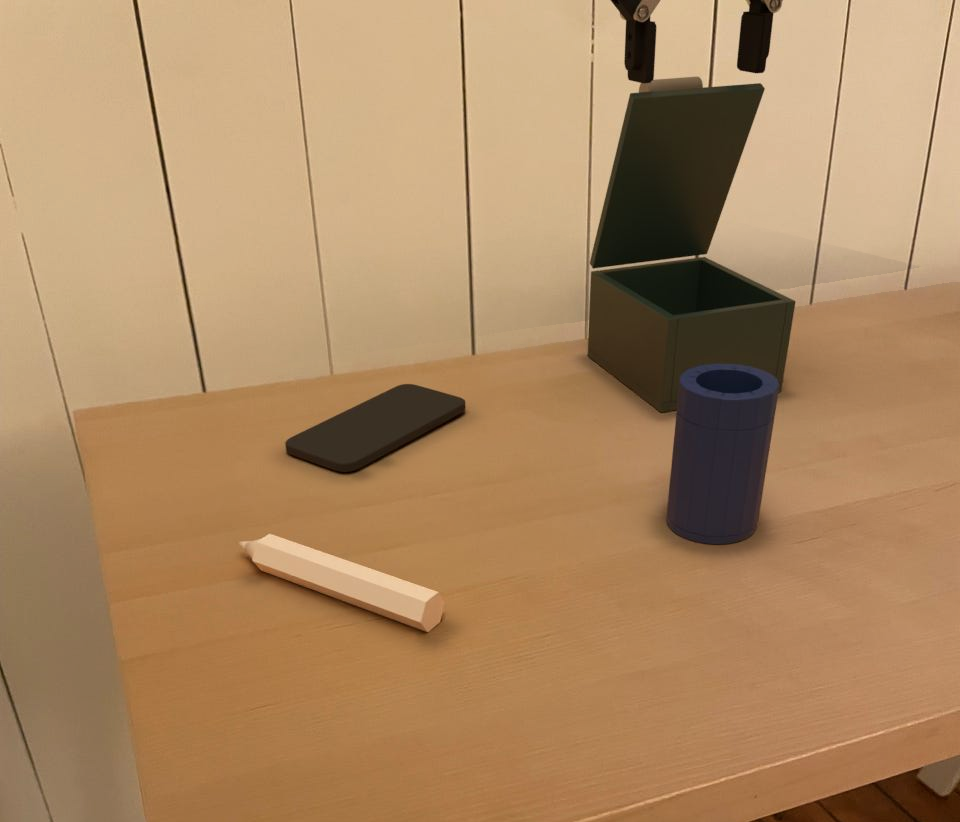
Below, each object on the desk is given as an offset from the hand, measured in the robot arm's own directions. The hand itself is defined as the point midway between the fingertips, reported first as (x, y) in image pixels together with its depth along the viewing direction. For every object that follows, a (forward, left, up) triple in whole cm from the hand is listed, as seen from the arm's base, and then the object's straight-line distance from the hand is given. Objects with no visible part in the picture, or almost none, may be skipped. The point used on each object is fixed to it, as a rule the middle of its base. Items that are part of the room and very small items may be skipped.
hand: (696, 76), depth 79 cm
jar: (+19, +23, -23) cm, 38 cm away
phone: (+29, -4, -23) cm, 37 cm away
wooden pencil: (+43, +14, -24) cm, 51 cm away
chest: (+1, +2, -23) cm, 23 cm away
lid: (-1, -2, -8) cm, 8 cm away
